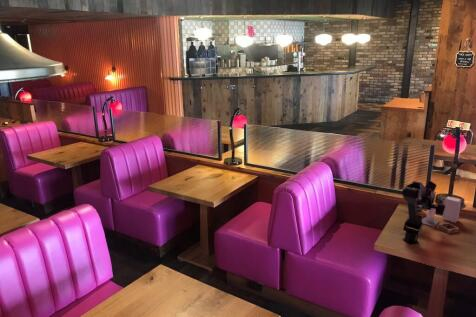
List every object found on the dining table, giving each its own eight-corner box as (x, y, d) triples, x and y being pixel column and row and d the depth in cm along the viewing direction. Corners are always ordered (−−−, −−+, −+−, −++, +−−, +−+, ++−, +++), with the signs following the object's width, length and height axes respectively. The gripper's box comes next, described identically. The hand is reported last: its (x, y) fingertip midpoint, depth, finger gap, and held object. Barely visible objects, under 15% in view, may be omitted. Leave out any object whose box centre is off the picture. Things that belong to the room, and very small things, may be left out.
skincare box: (458, 220, 259) (462, 199, 254) (455, 223, 255) (459, 201, 250) (444, 216, 264) (448, 195, 260) (441, 219, 260) (445, 198, 256)
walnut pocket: (448, 233, 241) (448, 230, 240) (437, 227, 248) (438, 224, 247) (458, 231, 243) (459, 228, 242) (447, 226, 250) (448, 222, 250)
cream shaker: (431, 223, 253) (433, 207, 250) (424, 220, 256) (426, 205, 253) (434, 221, 255) (437, 206, 252) (427, 218, 259) (430, 203, 256)
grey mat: (434, 227, 249) (434, 226, 248) (419, 222, 254) (419, 222, 254) (439, 221, 257) (439, 220, 256) (424, 217, 262) (424, 216, 262)
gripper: (447, 193, 236) (449, 205, 247) (415, 185, 247) (418, 197, 258) (441, 209, 232) (443, 220, 243) (408, 200, 244) (412, 212, 255)
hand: (429, 212), depth 250 cm, fingers open, 9 cm apart
